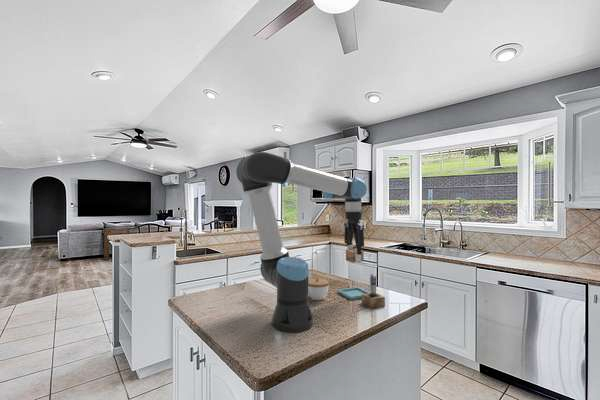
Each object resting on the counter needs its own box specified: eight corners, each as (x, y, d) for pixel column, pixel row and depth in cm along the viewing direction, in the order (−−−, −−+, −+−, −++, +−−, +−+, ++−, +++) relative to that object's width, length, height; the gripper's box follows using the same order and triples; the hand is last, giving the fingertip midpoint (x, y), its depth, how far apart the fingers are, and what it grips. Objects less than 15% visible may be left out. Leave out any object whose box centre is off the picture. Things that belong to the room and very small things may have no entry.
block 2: (371, 308, 123) (371, 298, 123) (361, 303, 129) (361, 294, 129) (384, 306, 125) (384, 296, 125) (374, 301, 132) (374, 292, 132)
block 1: (352, 262, 133) (352, 251, 133) (346, 260, 138) (345, 249, 138) (363, 261, 135) (363, 250, 135) (357, 259, 140) (356, 248, 140)
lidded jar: (328, 294, 140) (328, 275, 140) (328, 302, 130) (328, 281, 130) (306, 294, 141) (306, 274, 141) (304, 301, 131) (304, 280, 131)
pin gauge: (372, 306, 125) (372, 275, 126) (368, 304, 128) (369, 274, 128) (377, 305, 126) (377, 275, 127) (373, 303, 129) (373, 274, 129)
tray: (350, 300, 133) (350, 296, 133) (337, 292, 144) (337, 289, 144) (372, 297, 137) (372, 293, 137) (358, 289, 148) (358, 286, 148)
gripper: (372, 211, 129) (372, 263, 129) (349, 210, 147) (350, 255, 147) (357, 212, 126) (358, 264, 126) (336, 210, 144) (337, 257, 144)
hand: (354, 259), depth 137 cm, fingers closed on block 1, 6 cm apart
